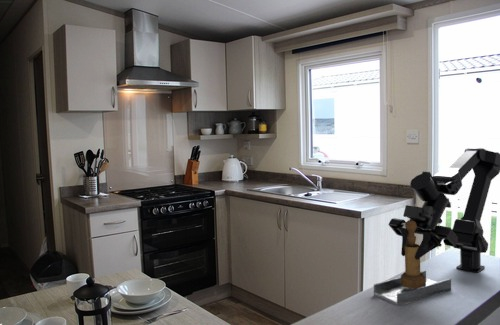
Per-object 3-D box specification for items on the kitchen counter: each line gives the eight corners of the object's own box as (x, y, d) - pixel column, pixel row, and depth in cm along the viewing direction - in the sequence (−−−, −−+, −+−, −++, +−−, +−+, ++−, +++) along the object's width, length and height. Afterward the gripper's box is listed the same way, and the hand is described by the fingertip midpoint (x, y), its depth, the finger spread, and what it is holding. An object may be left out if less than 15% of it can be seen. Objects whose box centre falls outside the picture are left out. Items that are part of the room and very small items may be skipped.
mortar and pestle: (424, 290, 114) (421, 223, 113) (399, 287, 117) (396, 222, 116) (427, 281, 120) (424, 218, 119) (403, 279, 123) (400, 217, 122)
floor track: (424, 280, 127) (424, 270, 127) (451, 289, 119) (451, 279, 119) (373, 294, 118) (373, 284, 118) (398, 305, 110) (398, 294, 110)
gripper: (391, 191, 127) (367, 234, 121) (451, 197, 111) (426, 247, 106) (408, 213, 132) (386, 255, 126) (468, 222, 116) (445, 271, 111)
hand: (409, 256), depth 117 cm, fingers closed on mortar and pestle, 4 cm apart
